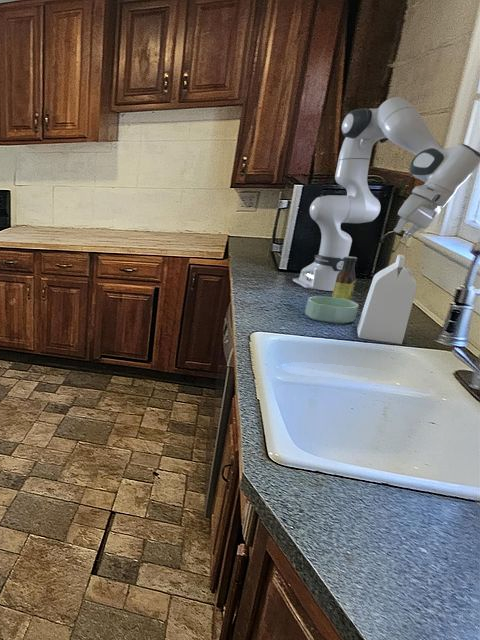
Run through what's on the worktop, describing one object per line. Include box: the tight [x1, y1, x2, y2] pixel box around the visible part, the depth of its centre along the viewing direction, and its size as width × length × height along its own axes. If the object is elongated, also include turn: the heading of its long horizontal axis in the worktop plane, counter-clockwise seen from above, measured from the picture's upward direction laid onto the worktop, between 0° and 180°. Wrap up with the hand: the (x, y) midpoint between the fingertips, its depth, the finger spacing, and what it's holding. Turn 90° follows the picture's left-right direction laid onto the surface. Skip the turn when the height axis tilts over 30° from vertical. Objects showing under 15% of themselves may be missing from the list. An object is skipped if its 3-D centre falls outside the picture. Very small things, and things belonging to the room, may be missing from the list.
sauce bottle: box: [331, 256, 358, 301], centre depth 197 cm, size 7×6×20 cm
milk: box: [356, 254, 418, 345], centre depth 167 cm, size 12×12×26 cm
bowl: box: [304, 295, 360, 325], centre depth 189 cm, size 16×16×6 cm
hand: (401, 234), depth 178 cm, fingers open, 8 cm apart
